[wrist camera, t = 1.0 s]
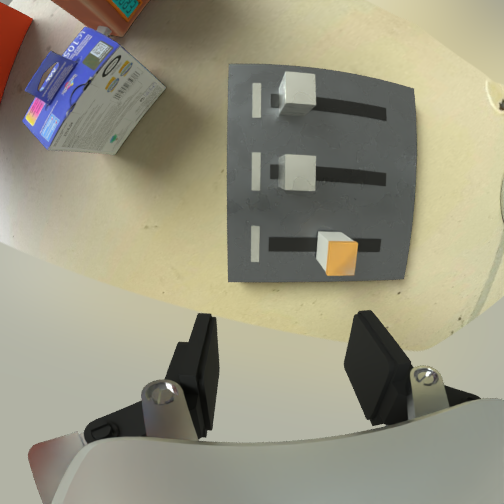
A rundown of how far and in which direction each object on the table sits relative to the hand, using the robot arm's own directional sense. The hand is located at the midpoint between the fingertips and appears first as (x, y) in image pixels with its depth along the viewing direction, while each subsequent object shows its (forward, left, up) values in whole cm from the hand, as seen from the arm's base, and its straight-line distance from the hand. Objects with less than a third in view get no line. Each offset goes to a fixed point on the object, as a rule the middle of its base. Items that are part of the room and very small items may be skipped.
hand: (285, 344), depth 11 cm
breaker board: (-6, -7, -20) cm, 22 cm away
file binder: (+42, -30, -20) cm, 55 cm away
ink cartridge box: (+16, -15, -20) cm, 29 cm away
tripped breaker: (-6, 0, -16) cm, 17 cm away
